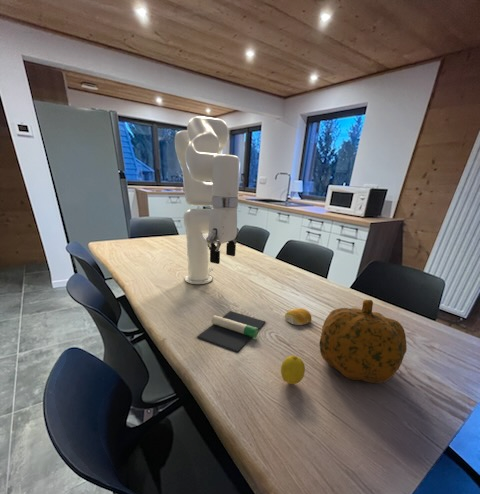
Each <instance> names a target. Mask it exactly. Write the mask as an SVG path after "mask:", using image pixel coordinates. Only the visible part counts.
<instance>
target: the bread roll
mask: <svg viewBox="0 0 480 494" xmlns="http://www.w3.org/2000/svg"><path fill="white" fill-rule="evenodd" d="M284 318H285V320H286V321H287V322H288V323H289V324H292V325H294V326H303V325H306V324H309V323H311V322H312V314H311V312H310V311H308V310H307V309H305V308H295V309H290V310H288V311H286V312H285V314H284Z"/></svg>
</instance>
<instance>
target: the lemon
mask: <svg viewBox="0 0 480 494" xmlns="http://www.w3.org/2000/svg"><path fill="white" fill-rule="evenodd" d="M281 363H282V364H281V366H280V375H281V378H282V379H283V381H284V382H286V383H287V384H289V385H296V384H298V383H299V384H300V382H301V381H302V380H303V379H304V376H305V372H306V368H305V363H304V361H303V360H302V358H301V357H299V356H297V355H289V356H286V357H285V358H284V360H283V361H282V362H281Z"/></svg>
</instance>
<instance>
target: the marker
mask: <svg viewBox="0 0 480 494" xmlns="http://www.w3.org/2000/svg"><path fill="white" fill-rule="evenodd" d="M212 316H213V317H212V318H211V325H213V324H214V325H217V326H220V327H223V328H227V329H230V330H233V331H236V332H239V333H242V334H244V335H247V336H250V337H252V338H253V339H256V338H257V337H258V335H259V330H260V329H258V328H256V327H253V326H250V325H245V324H242V323H239V322H236V321H232V320H229V319H226V318H223V316H219V315H215V314H214V315H212Z"/></svg>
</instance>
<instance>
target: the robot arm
mask: <svg viewBox="0 0 480 494" xmlns="http://www.w3.org/2000/svg"><path fill="white" fill-rule="evenodd" d="M229 132H230V131H229V127H228V124H227V122H226V121H224V119H221V118H215V117H207V116H194V117H192V118H190V120H189V121H188V122H187V127H186V129H185V130H179V131H177V132H176V133H175V136H174V149H175V150H174V151H175V154H176V157H177V161H178V163H179V167H180V168H181V171H182V172H181V173H182V181H183V191H184V199H185V202H186V204H187V205H188V206H193V207H210V208H190V209H187V210H186V211H184V214H183V223H184V224H183V225H184V229H185V236H186V255H187V256H186V257H187V274H186V275H185V276H184V281H185V282H186V283H188V284H192V285H205V284H209V283H210V282H212V281H213V277H212V275H210V273H212V272H214V268H213V267H212V266H211V267H209V265H210V263H211V264H216V265H219V264H220V263H221V262H220V261H221V251H220V248H221V246H222V244H226V249H225V250H226V251H225V253H226V255H227V256H231V257H235V256H236V251H237V250H236V246H237V243H238V241H237V239H238V236H239V231H240V229H239V228H238V208H239V207H238V205H239V203H238V202H239V187H240V169H241V160H240V157H239V156H237V155H234V154H227V153H225V154H224V153H221V152H222V151H223V150H224V149H225V147H226V146H227V144H228V141H229V136H230V133H229ZM203 233H208V235H207V236H205V235H204V234H203ZM209 262H210V263H209Z"/></svg>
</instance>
